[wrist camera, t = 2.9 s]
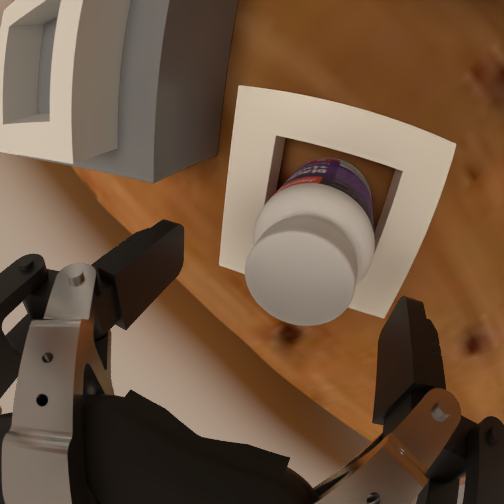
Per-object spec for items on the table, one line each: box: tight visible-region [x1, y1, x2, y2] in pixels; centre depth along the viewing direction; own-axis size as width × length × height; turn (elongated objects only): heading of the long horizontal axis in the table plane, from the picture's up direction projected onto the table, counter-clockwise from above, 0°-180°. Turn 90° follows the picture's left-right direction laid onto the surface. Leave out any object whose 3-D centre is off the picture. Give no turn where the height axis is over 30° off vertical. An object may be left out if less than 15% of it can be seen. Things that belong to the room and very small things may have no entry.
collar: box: [219, 85, 456, 319], centre depth 17 cm, size 12×12×2 cm
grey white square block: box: [0, 0, 238, 183], centre depth 13 cm, size 16×14×10 cm
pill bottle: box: [245, 157, 375, 326], centre depth 14 cm, size 5×5×10 cm
